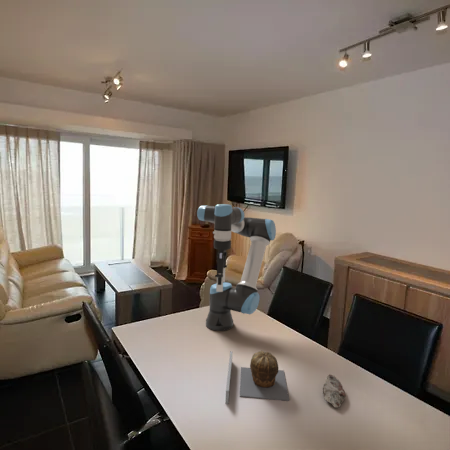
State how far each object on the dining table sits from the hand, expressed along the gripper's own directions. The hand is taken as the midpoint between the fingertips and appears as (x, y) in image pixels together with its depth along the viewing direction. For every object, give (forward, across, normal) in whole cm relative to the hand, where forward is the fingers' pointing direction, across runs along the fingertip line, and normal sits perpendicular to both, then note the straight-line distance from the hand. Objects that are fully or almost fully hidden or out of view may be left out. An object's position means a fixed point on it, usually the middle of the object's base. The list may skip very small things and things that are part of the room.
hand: (220, 286), depth 139 cm
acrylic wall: (+32, +20, +6) cm, 38 cm away
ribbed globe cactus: (+31, +20, +20) cm, 42 cm away
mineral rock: (+32, +24, +45) cm, 61 cm away
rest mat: (+32, +20, +20) cm, 42 cm away
